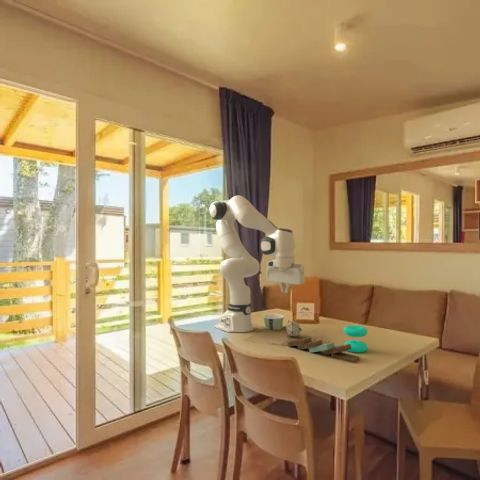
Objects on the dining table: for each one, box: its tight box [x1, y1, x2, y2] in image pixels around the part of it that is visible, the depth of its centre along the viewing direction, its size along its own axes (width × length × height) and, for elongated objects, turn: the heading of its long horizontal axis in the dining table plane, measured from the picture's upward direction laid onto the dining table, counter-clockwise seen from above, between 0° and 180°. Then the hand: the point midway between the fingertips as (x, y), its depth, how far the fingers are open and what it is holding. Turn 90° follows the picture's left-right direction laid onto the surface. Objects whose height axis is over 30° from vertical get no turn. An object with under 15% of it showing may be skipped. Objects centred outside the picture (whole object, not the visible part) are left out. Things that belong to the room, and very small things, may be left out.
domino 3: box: [308, 341, 336, 354], centre depth 157 cm, size 2×5×10 cm
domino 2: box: [296, 339, 324, 350], centre depth 161 cm, size 2×5×10 cm
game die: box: [284, 319, 303, 338], centre depth 185 cm, size 9×8×10 cm
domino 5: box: [330, 352, 360, 364], centre depth 151 cm, size 2×5×10 cm
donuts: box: [343, 324, 369, 354], centre depth 162 cm, size 10×10×10 cm
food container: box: [262, 313, 285, 331], centre depth 204 cm, size 12×12×6 cm
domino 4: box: [323, 344, 352, 356], centre depth 153 cm, size 2×5×10 cm
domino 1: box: [287, 336, 313, 347], centre depth 166 cm, size 2×5×10 cm
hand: (285, 292), depth 172 cm, fingers closed
